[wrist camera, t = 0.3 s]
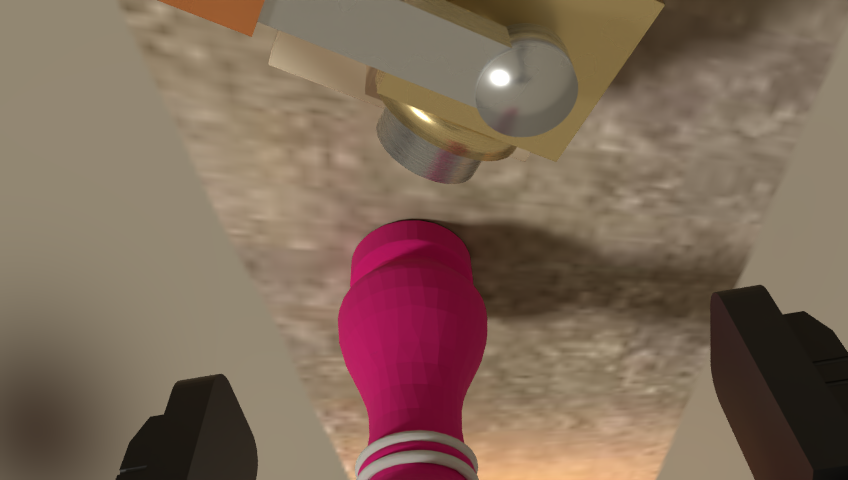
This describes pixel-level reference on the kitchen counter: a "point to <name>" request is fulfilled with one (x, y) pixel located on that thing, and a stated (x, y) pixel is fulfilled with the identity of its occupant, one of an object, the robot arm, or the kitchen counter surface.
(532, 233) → the kitchen counter surface
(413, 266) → the pepper mill
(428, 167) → the ball valve
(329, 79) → the board
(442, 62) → the lever
